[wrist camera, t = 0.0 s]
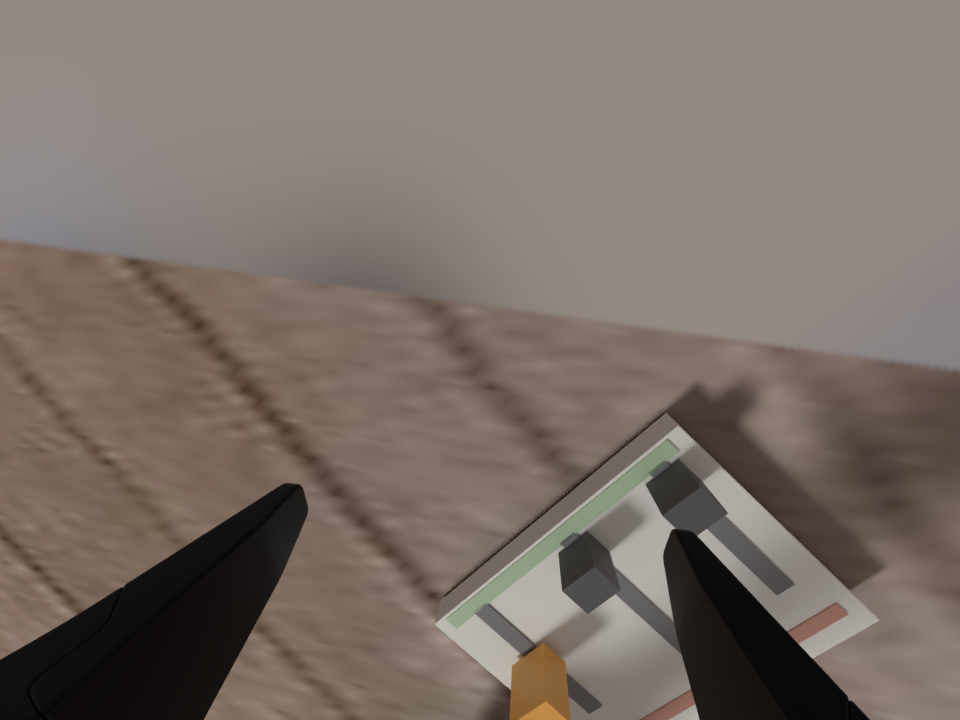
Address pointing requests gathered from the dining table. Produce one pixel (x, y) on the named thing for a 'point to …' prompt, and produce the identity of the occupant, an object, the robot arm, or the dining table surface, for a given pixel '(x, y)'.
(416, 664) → the dining table surface
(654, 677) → the breaker panel
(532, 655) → the block
